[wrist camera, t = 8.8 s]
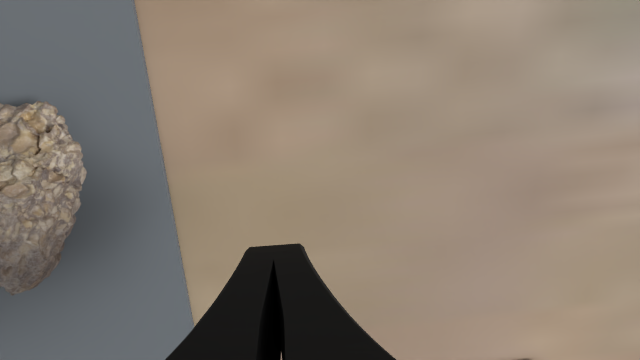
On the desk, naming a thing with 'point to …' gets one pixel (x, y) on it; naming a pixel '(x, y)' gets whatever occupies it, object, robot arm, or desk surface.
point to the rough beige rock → (35, 192)
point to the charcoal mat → (96, 189)
